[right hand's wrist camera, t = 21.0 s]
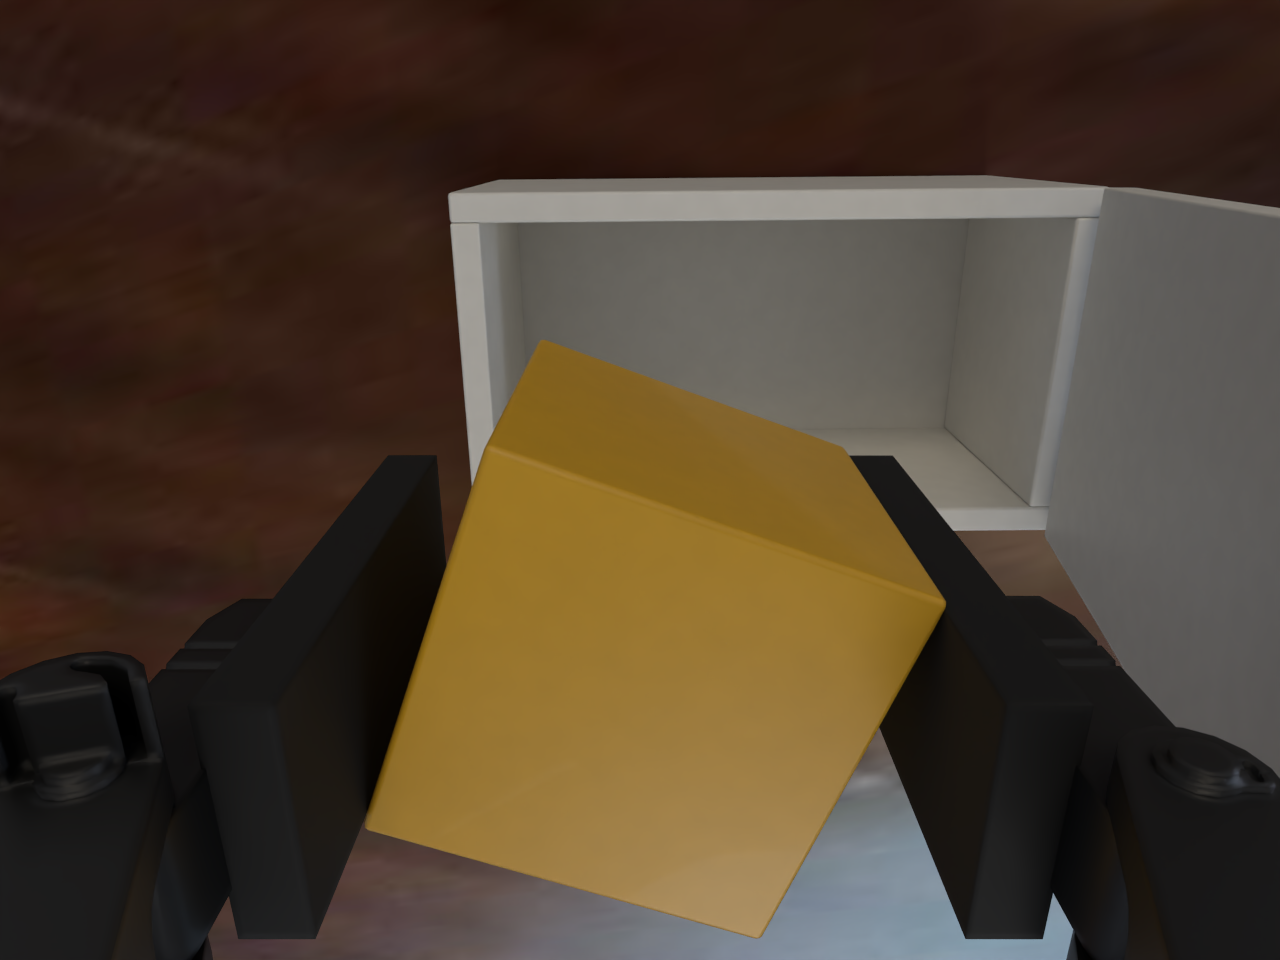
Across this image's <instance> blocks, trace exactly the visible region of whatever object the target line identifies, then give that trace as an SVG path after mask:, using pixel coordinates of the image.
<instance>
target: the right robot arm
mask: <svg viewBox="0 0 1280 960" xmlns="http://www.w3.org/2000/svg"><path fill="white" fill-rule="evenodd" d="M849 456H850V458H851V459H852V461H853V462H854V464H855V465H856V467H857V468H858V470H859V471H860V473H861V474H862V476H863V477H864V479H865V480H866V482H867V483H868V485H869V487H870V488H871V490H872V491H873V493H874V494H875V496H876V497H877V499H878V500H879V502H880V503H881V505H882V506H883V508H884V509H885V511H886V512H887V514H888V515H889V517H890V518H891V520H892V521H893V523H894V524H895V526H896V527H897V529H898V530H899V532H900V533H901V535H902V536H903V538H904V539H905V541H906V542H907V544H908V545H909V547H910V548H911V550H912V551H913V553H914V554H915V556H916V557H917V559H918V560H919V562H920V563H921V565H922V566H923V568H924V569H925V571H926V572H927V574H928V575H929V577H930V578H931V580H932V581H933V583H934V584H935V586H936V587H937V589H938V590H939V592H940V593H941V595H942V596H943V598H944V599H945V601H946V607H945V610H944V612H943V614H942V615H941V617H940V619H939V621H938V622H937V624H936V626H935V628H934V630H933V631H932V633H931V635H930V637H929V639H928V640H927V642H926V644H925V646H924V647H923V649H922V651H921V653H920V655H919V656H918V658H917V660H916V662H915V664H914V665H913V667H912V669H911V671H910V672H909V674H908V676H907V678H906V680H905V681H904V683H903V685H902V687H901V689H900V690H899V692H898V694H897V696H896V697H895V699H894V701H893V703H892V705H891V706H890V708H889V710H888V712H887V713H886V715H885V717H884V719H883V721H882V722H881V724H880V726H879V727H880V730H881V732H882V735H883V737H884V740H885V742H886V745H887V747H888V750H889V752H890V755H891V757H892V759H893V762H894V764H895V767H896V769H897V772H898V774H899V777H900V779H901V782H902V784H903V786H904V789H905V791H906V794H907V796H908V799H909V801H910V804H911V806H912V809H913V811H914V813H915V816H916V818H917V821H918V823H919V826H920V828H921V831H922V833H923V836H924V838H925V840H926V843H927V845H928V848H929V850H930V853H931V855H932V858H933V860H934V863H935V865H936V867H937V870H938V872H939V875H940V877H941V880H942V882H943V885H944V887H945V890H946V892H947V895H948V897H949V899H950V902H951V904H952V907H953V909H954V912H955V914H956V917H957V919H958V922H959V924H960V926H961V929H962V931H963V934H964V936H965V939H1043V935H1044V931H1045V926H1046V922H1047V917H1048V913H1049V908H1050V904H1051V899H1052V895H1053V893H1054V895H1055V897H1056V899H1057V900H1058V902H1059V904H1060V906H1061V908H1062V910H1063V911H1064V913H1065V915H1066V917H1067V919H1068V920H1069V922H1070V924H1071V926H1072V928H1073V934H1072V938H1071V942H1070V947H1069V951H1068V955H1067V959H1066V960H1280V778H1279V777H1278V776H1277V774H1276V773H1275V772H1274V771H1273V769H1272V768H1270V767H1269V766H1267V765H1266V764H1265V763H1263V762H1262V761H1260V760H1259V759H1258V758H1256V757H1255V756H1253V755H1252V754H1250V753H1249V752H1248V751H1246V750H1244V749H1242V748H1240V747H1238V746H1235V745H1233V744H1231V743H1229V742H1227V741H1224V740H1222V739H1220V738H1218V737H1216V736H1213V735H1209V734H1205V733H1201V732H1198V731H1194V730H1190V729H1186V728H1182V727H1175V726H1174V724H1173V723H1172V722H1171V721H1170V720H1169V719H1168V718H1167V717H1166V716H1165V715H1164V714H1163V712H1162V711H1161V710H1160V709H1159V708H1158V707H1157V706H1156V705H1155V704H1154V703H1153V701H1152V700H1151V699H1150V698H1149V697H1148V696H1147V695H1146V694H1145V693H1144V692H1143V691H1142V689H1141V688H1140V687H1139V686H1138V685H1137V684H1136V683H1135V682H1134V681H1133V680H1132V679H1131V677H1130V676H1129V675H1128V674H1127V673H1126V672H1125V671H1124V670H1123V669H1122V668H1121V666H1116V664H1115V660H1114V659H1113V658H1112V657H1111V656H1110V654H1109V653H1108V652H1107V651H1106V650H1105V649H1104V648H1103V647H1102V646H1097V640H1096V639H1095V638H1094V637H1093V636H1092V635H1091V634H1090V633H1089V632H1088V630H1087V629H1086V628H1085V627H1084V626H1083V625H1082V624H1081V623H1080V622H1079V621H1078V619H1077V618H1076V617H1075V616H1073V615H1071V614H1069V613H1068V612H1066V611H1064V610H1063V609H1061V608H1059V607H1058V606H1056V605H1054V604H1052V603H1051V602H1049V601H1047V600H1046V599H1044V598H1042V597H1040V596H1005V594H1004V593H1003V592H1002V591H1001V589H1000V588H999V587H998V586H997V584H996V583H995V582H994V581H993V579H992V578H991V577H990V576H989V575H988V573H987V572H986V571H985V570H984V568H983V567H982V566H981V565H980V563H979V562H978V561H977V560H976V558H975V557H974V556H973V555H972V553H971V552H970V551H969V550H968V548H967V547H966V546H965V545H964V543H963V542H962V541H961V540H960V538H959V537H958V536H957V535H956V533H955V532H954V531H953V530H952V528H951V527H950V526H949V525H948V524H947V522H946V521H945V520H944V519H943V517H942V516H941V515H940V514H939V512H938V511H937V510H936V509H935V507H934V506H933V505H932V504H931V502H930V501H929V500H928V499H927V497H926V496H925V495H924V494H923V492H922V491H921V490H920V489H919V487H918V486H917V485H916V484H915V482H914V481H913V480H912V479H911V477H910V476H909V475H908V474H907V473H906V471H905V470H904V469H903V468H902V466H901V465H900V464H899V463H898V461H897V460H896V459H895V458H894V456H893V455H849ZM445 569H446V558H445V546H444V535H443V524H442V512H441V501H440V490H439V478H438V467H437V456H436V455H388V456H387V458H386V459H385V460H384V461H383V463H382V464H381V465H380V466H379V468H378V469H377V470H376V471H375V473H374V474H373V475H372V476H371V478H370V479H369V480H368V481H367V483H366V484H365V485H364V486H363V488H362V489H361V490H360V491H359V492H358V494H357V495H356V496H355V497H354V499H353V500H352V501H351V502H350V504H349V505H348V506H347V507H346V509H345V510H344V511H343V512H342V514H341V515H340V516H339V517H338V519H337V520H336V521H335V522H334V524H333V525H332V526H331V527H330V529H329V530H328V531H327V532H326V534H325V535H324V536H323V537H322V539H321V540H320V541H319V542H318V544H317V545H316V546H315V547H314V549H313V550H312V551H311V552H310V553H309V555H308V556H307V557H306V558H305V560H304V561H303V562H302V563H301V565H300V566H299V567H298V568H297V570H296V571H295V572H294V573H293V575H292V576H291V577H290V578H289V580H288V581H287V582H286V583H285V585H284V586H283V587H282V588H281V590H280V591H279V592H278V593H277V595H276V596H275V597H274V598H273V599H241V600H239V601H238V602H236V603H234V604H232V605H231V606H229V607H227V608H226V609H224V610H222V611H221V612H219V613H217V614H215V615H214V616H212V617H210V618H209V619H207V620H206V621H205V622H204V623H203V624H202V625H201V627H200V628H199V629H198V630H197V631H196V632H195V633H194V634H193V635H192V636H191V638H190V639H189V640H188V641H187V642H186V643H185V648H184V649H180V650H179V651H178V652H177V653H176V654H175V655H174V656H173V657H172V659H171V660H170V661H169V662H168V663H167V664H166V665H167V667H166V669H162V670H161V671H160V672H159V673H158V674H157V675H156V676H155V677H154V678H153V679H152V681H151V682H150V683H149V684H148V680H147V676H146V672H145V668H144V665H143V664H142V663H141V662H139V661H138V660H136V659H135V658H134V657H132V656H131V655H126V654H121V653H115V652H109V651H103V652H88V653H76V654H72V655H67V656H63V657H59V658H54V659H50V660H46V661H42V662H40V663H37V664H35V665H32V666H30V667H27V668H25V669H22V670H19V671H17V672H14V673H12V674H10V675H8V676H7V677H5V678H3V679H2V680H0V960H213V957H212V951H211V947H210V942H209V938H208V933H209V931H210V929H211V927H212V925H213V923H214V922H215V920H216V918H217V916H218V914H219V912H220V911H221V909H222V907H223V905H224V903H225V901H226V900H227V898H228V896H229V899H230V903H231V908H232V912H233V917H234V921H235V926H236V930H237V935H238V939H316V936H317V934H318V931H319V929H320V927H321V924H322V922H323V919H324V917H325V914H326V912H327V909H328V907H329V904H330V902H331V899H332V897H333V895H334V892H335V890H336V887H337V885H338V882H339V880H340V877H341V875H342V872H343V870H344V868H345V865H346V863H347V860H348V858H349V855H350V853H351V850H352V848H353V845H354V843H355V841H356V838H357V836H358V833H359V831H360V828H361V826H362V823H363V821H364V818H365V816H366V813H367V811H368V808H369V805H370V802H371V799H372V796H373V792H374V789H375V786H376V783H377V780H378V777H379V774H380V771H381V768H382V764H383V761H384V758H385V755H386V752H387V749H388V746H389V743H390V740H391V737H392V733H393V730H394V727H395V724H396V721H397V718H398V715H399V712H400V709H401V705H402V702H403V699H404V696H405V693H406V690H407V687H408V684H409V681H410V678H411V674H412V671H413V668H414V665H415V662H416V659H417V656H418V653H419V650H420V647H421V643H422V640H423V637H424V634H425V631H426V628H427V625H428V622H429V619H430V615H431V612H432V609H433V606H434V603H435V600H436V597H437V594H438V591H439V588H440V584H441V581H442V578H443V575H444V572H445Z"/></svg>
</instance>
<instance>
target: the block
mask: <svg viewBox="0 0 1280 960" xmlns="http://www.w3.org/2000/svg"><path fill="white" fill-rule="evenodd" d="M945 607H946V601H945V599H944V598H943V596H942V595H941V593H940V592H939V590H938V589H937V587H936V586H935V584H934V583H933V581H932V580H931V578H930V577H929V575H928V574H927V572H926V571H925V569H924V568H923V566H922V565H921V563H920V562H919V560H918V559H917V557H916V556H915V554H914V553H913V551H912V550H911V548H910V547H909V545H908V544H907V542H906V541H905V539H904V538H903V536H902V535H901V533H900V532H899V530H898V529H897V527H896V526H895V524H894V523H893V521H892V520H891V518H890V517H889V515H888V514H887V512H886V511H885V509H884V508H883V506H882V505H881V503H880V502H879V500H878V499H877V497H876V496H875V494H874V493H873V491H872V490H871V488H870V487H869V485H868V483H867V482H866V480H865V479H864V477H863V476H862V474H861V473H860V471H859V470H858V468H857V467H856V465H855V464H854V462H853V461H852V459H851V458H850V456H849V455H848V453H847V452H846V450H845V449H844V448H843V447H841V446H838V445H836V444H833V443H830V442H827V441H825V440H822V439H819V438H816V437H813V436H811V435H808V434H805V433H802V432H800V431H797V430H794V429H791V428H789V427H786V426H783V425H780V424H777V423H775V422H772V421H769V420H766V419H764V418H761V417H758V416H755V415H752V414H750V413H747V412H744V411H741V410H739V409H736V408H733V407H730V406H727V405H725V404H722V403H719V402H716V401H714V400H711V399H708V398H705V397H702V396H700V395H697V394H694V393H691V392H689V391H686V390H683V389H680V388H677V387H675V386H672V385H669V384H666V383H664V382H661V381H658V380H655V379H652V378H650V377H647V376H644V375H641V374H639V373H636V372H633V371H630V370H627V369H625V368H622V367H619V366H616V365H614V364H611V363H608V362H605V361H602V360H600V359H597V358H594V357H591V356H589V355H586V354H583V353H580V352H577V351H575V350H572V349H569V348H566V347H564V346H561V345H558V344H555V343H552V342H550V341H547V340H541V341H540V342H539V343H538V345H537V347H536V349H535V351H534V353H533V354H532V356H531V358H530V360H529V362H528V364H527V366H526V368H525V370H524V372H523V374H522V376H521V378H520V380H519V382H518V384H517V386H516V388H515V390H514V392H513V394H512V396H511V398H510V399H509V401H508V403H507V405H506V407H505V409H504V411H503V413H502V415H501V417H500V419H499V421H498V423H497V425H496V427H495V429H494V431H493V433H492V435H491V437H490V439H489V441H488V443H487V445H486V446H485V448H484V451H483V454H482V457H481V460H480V463H479V466H478V470H477V473H476V476H475V479H474V482H473V485H472V488H471V491H470V494H469V498H468V501H467V504H466V507H465V510H464V513H463V516H462V519H461V522H460V525H459V529H458V532H457V535H456V538H455V541H454V544H453V547H452V550H451V553H450V556H449V560H448V563H447V566H446V569H445V572H444V575H443V578H442V581H441V584H440V588H439V591H438V594H437V597H436V600H435V603H434V606H433V609H432V612H431V615H430V619H429V622H428V625H427V628H426V631H425V634H424V637H423V640H422V643H421V647H420V650H419V653H418V656H417V659H416V662H415V665H414V668H413V671H412V674H411V678H410V681H409V684H408V687H407V690H406V693H405V696H404V699H403V702H402V705H401V709H400V712H399V715H398V718H397V721H396V724H395V727H394V730H393V733H392V737H391V740H390V743H389V746H388V749H387V752H386V755H385V758H384V761H383V764H382V768H381V771H380V774H379V777H378V780H377V783H376V786H375V789H374V792H373V796H372V799H371V802H370V805H369V808H368V811H367V814H366V817H365V820H364V822H365V828H366V829H368V830H370V831H374V832H377V833H381V834H385V835H388V836H392V837H395V838H399V839H402V840H406V841H409V842H413V843H417V844H420V845H424V846H427V847H431V848H434V849H438V850H442V851H445V852H449V853H452V854H456V855H459V856H463V857H467V858H470V859H474V860H477V861H481V862H484V863H488V864H492V865H495V866H499V867H502V868H506V869H509V870H513V871H516V872H520V873H524V874H527V875H531V876H534V877H538V878H541V879H545V880H549V881H552V882H556V883H559V884H563V885H566V886H570V887H574V888H577V889H581V890H584V891H588V892H591V893H595V894H599V895H602V896H606V897H609V898H613V899H616V900H620V901H623V902H627V903H631V904H634V905H638V906H641V907H645V908H648V909H652V910H656V911H659V912H663V913H666V914H670V915H673V916H677V917H681V918H684V919H688V920H691V921H695V922H698V923H702V924H706V925H709V926H713V927H716V928H720V929H723V930H727V931H730V932H734V933H738V934H741V935H745V936H748V937H752V938H760V937H761V936H762V935H763V933H764V931H765V929H766V928H767V926H768V924H769V922H770V921H771V919H772V917H773V915H774V913H775V912H776V910H777V908H778V906H779V904H780V903H781V901H782V899H783V897H784V896H785V894H786V892H787V890H788V888H789V887H790V885H791V883H792V881H793V879H794V878H795V876H796V874H797V872H798V871H799V869H800V867H801V865H802V863H803V862H804V860H805V858H806V856H807V855H808V853H809V851H810V849H811V847H812V846H813V844H814V842H815V840H816V838H817V837H818V835H819V833H820V831H821V830H822V828H823V826H824V824H825V822H826V821H827V819H828V817H829V815H830V813H831V812H832V810H833V808H834V806H835V805H836V803H837V801H838V799H839V797H840V796H841V794H842V792H843V790H844V788H845V787H846V785H847V783H848V781H849V780H850V778H851V776H852V774H853V772H854V771H855V769H856V767H857V765H858V763H859V762H860V760H861V758H862V756H863V755H864V753H865V751H866V749H867V747H868V746H869V744H870V742H871V740H872V738H873V737H874V735H875V733H876V731H877V730H878V728H879V726H880V724H881V722H882V721H883V719H884V717H885V715H886V713H887V712H888V710H889V708H890V706H891V705H892V703H893V701H894V699H895V697H896V696H897V694H898V692H899V690H900V689H901V687H902V685H903V683H904V681H905V680H906V678H907V676H908V674H909V672H910V671H911V669H912V667H913V665H914V664H915V662H916V660H917V658H918V656H919V655H920V653H921V651H922V649H923V647H924V646H925V644H926V642H927V640H928V639H929V637H930V635H931V633H932V631H933V630H934V628H935V626H936V624H937V622H938V621H939V619H940V617H941V615H942V614H943V612H944V610H945Z"/></svg>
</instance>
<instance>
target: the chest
mask: <svg viewBox="0 0 1280 960" xmlns="http://www.w3.org/2000/svg"><path fill="white" fill-rule="evenodd" d="M1105 188H1108V187H1105V186H1094V185H1083V184H1072V183H1062V182H1051V181H1040V180H1030V179H1019V178H1008V177H997V176H986V175H980V176H869V177H758V178H647V179H535V180H496V181H492V182H489V183H485V184H481V185H478V186H474V187H470V188H466V189H463V190H459V191H455V192H451V193H449V195H448V202H449V214H450V221H451V222H452V224H451V225H450V228H451V240H452V253H453V265H454V277H455V289H456V301H457V313H458V325H459V337H460V349H461V361H462V373H463V385H464V397H465V409H466V422H467V434H468V446H469V458H470V470H471V482H472V485H473V482H474V479H475V476H476V473H477V470H478V466H479V463H480V460H481V457H482V454H483V451H484V448H485V446H486V445H487V443H488V441H489V439H490V437H491V435H492V433H493V431H494V429H495V427H496V425H497V423H498V421H499V419H500V417H501V415H502V413H503V411H504V409H505V407H506V405H507V403H508V401H509V399H510V398H511V396H512V394H513V392H514V390H515V388H516V386H517V384H518V382H519V380H520V378H521V376H522V374H523V372H524V370H525V368H526V366H527V364H528V362H529V360H530V358H531V356H532V354H533V353H534V351H535V349H536V347H537V345H538V343H539V342H540V341H541V340H547V341H550V342H552V343H555V344H558V345H561V346H564V347H566V348H569V349H572V350H575V351H577V352H580V353H583V354H586V355H589V356H591V357H594V358H597V359H600V360H602V361H605V362H608V363H611V364H614V365H616V366H619V367H622V368H625V369H627V370H630V371H633V372H636V373H639V374H641V375H644V376H647V377H650V378H652V379H655V380H658V381H661V382H664V383H666V384H669V385H672V386H675V387H677V388H680V389H683V390H686V391H689V392H691V393H694V394H697V395H700V396H702V397H705V398H708V399H711V400H714V401H716V402H719V403H722V404H725V405H727V406H730V407H733V408H736V409H739V410H741V411H744V412H747V413H750V414H752V415H755V416H758V417H761V418H764V419H766V420H769V421H772V422H775V423H777V424H780V425H783V426H786V427H789V428H791V429H794V430H797V431H800V432H802V433H805V434H808V435H811V436H813V437H816V438H819V439H822V440H825V441H827V442H830V443H833V444H836V445H838V446H841V447H843V448H844V449H845V450H846V452H847V453H848V455H893V456H894V458H895V459H896V460H897V461H898V463H899V464H900V465H901V466H902V468H903V469H904V470H905V471H906V473H907V474H908V475H909V476H910V477H911V479H912V480H913V481H914V482H915V484H916V485H917V486H918V487H919V489H920V490H921V491H922V492H923V494H924V495H925V496H926V497H927V499H928V500H929V501H930V502H931V504H932V505H933V506H934V507H935V509H936V510H937V511H938V512H939V514H940V515H941V516H942V517H943V519H944V520H945V521H946V522H947V524H948V525H949V526H950V527H951V528H952V530H953V531H962V530H1045V529H1046V524H1047V518H1048V512H1049V506H1050V500H1051V495H1052V489H1053V483H1054V477H1055V471H1056V466H1057V460H1058V454H1059V448H1060V442H1061V437H1062V431H1063V425H1064V419H1065V413H1066V408H1067V402H1068V396H1069V390H1070V384H1071V379H1072V373H1073V367H1074V361H1075V355H1076V350H1077V344H1078V338H1079V332H1080V326H1081V321H1082V315H1083V309H1084V303H1085V297H1086V292H1087V286H1088V280H1089V274H1090V268H1091V263H1092V257H1093V251H1094V245H1095V239H1096V234H1097V228H1098V222H1099V216H1100V210H1101V205H1102V199H1103V193H1104V190H1105Z"/></svg>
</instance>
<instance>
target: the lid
mask: <svg viewBox="0 0 1280 960" xmlns="http://www.w3.org/2000/svg"><path fill="white" fill-rule="evenodd" d="M1045 538H1046V539H1047V541H1048V543H1049V544H1050V546H1051V548H1052V549H1053V551H1054V553H1055V554H1056V556H1057V558H1058V559H1059V561H1060V563H1061V564H1062V566H1063V568H1064V570H1065V571H1066V573H1067V575H1068V576H1069V578H1070V580H1071V581H1072V583H1073V585H1074V586H1075V588H1076V590H1077V591H1078V593H1079V595H1080V596H1081V598H1082V600H1083V601H1084V603H1085V605H1086V606H1087V608H1088V610H1089V611H1090V613H1091V615H1092V616H1093V618H1094V620H1095V621H1096V623H1097V625H1098V627H1099V628H1100V630H1101V632H1102V633H1103V635H1104V637H1105V638H1106V640H1107V642H1108V643H1109V645H1110V647H1111V648H1112V650H1113V652H1114V653H1115V655H1116V657H1117V658H1118V660H1119V662H1120V663H1121V665H1122V667H1123V668H1124V670H1125V672H1126V673H1127V674H1128V675H1129V676H1130V677H1131V679H1132V680H1133V681H1134V682H1135V683H1136V684H1137V685H1138V686H1139V687H1140V688H1141V689H1142V691H1143V692H1144V693H1145V694H1146V695H1147V696H1148V697H1149V698H1150V699H1151V700H1152V701H1153V703H1154V704H1155V705H1156V706H1157V707H1158V708H1159V709H1160V710H1161V711H1162V712H1163V714H1164V715H1165V716H1166V717H1167V718H1168V719H1169V720H1170V721H1171V722H1172V723H1173V724H1174V726H1175V727H1182V728H1186V729H1190V730H1194V731H1198V732H1201V733H1205V734H1209V735H1213V736H1216V737H1218V738H1220V739H1222V740H1224V741H1227V742H1229V743H1231V744H1233V745H1235V746H1238V747H1240V748H1242V749H1244V750H1246V751H1248V752H1249V753H1250V754H1252V755H1253V756H1255V757H1256V758H1258V759H1259V760H1260V761H1262V762H1263V763H1265V764H1266V765H1267V766H1269V767H1270V768H1272V769H1273V771H1274V772H1275V773H1276V774H1277V776H1278V777H1279V778H1280V208H1275V207H1268V206H1261V205H1254V204H1247V203H1239V202H1232V201H1225V200H1218V199H1211V198H1204V197H1197V196H1190V195H1183V194H1176V193H1169V192H1162V191H1155V190H1148V189H1141V188H1105V190H1104V193H1103V199H1102V205H1101V210H1100V216H1099V222H1098V228H1097V234H1096V239H1095V245H1094V251H1093V257H1092V263H1091V268H1090V274H1089V280H1088V286H1087V292H1086V297H1085V303H1084V309H1083V315H1082V321H1081V326H1080V332H1079V338H1078V344H1077V350H1076V355H1075V361H1074V367H1073V373H1072V379H1071V384H1070V390H1069V396H1068V402H1067V408H1066V413H1065V419H1064V425H1063V431H1062V437H1061V442H1060V448H1059V454H1058V460H1057V466H1056V471H1055V477H1054V483H1053V489H1052V495H1051V500H1050V506H1049V512H1048V518H1047V524H1046V529H1045Z"/></svg>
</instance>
